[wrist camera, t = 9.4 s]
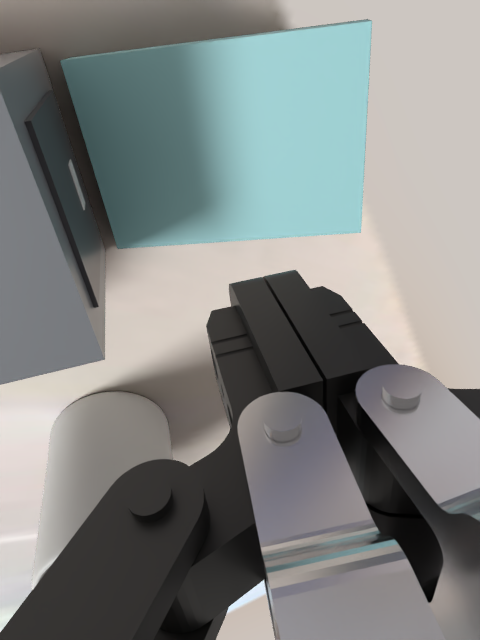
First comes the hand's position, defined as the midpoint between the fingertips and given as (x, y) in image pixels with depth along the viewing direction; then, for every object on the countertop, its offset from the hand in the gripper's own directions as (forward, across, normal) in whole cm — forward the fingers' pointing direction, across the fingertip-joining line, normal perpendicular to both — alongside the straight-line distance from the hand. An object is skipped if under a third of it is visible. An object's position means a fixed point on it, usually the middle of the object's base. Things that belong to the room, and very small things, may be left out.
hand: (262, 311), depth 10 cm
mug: (+17, +10, +21) cm, 28 cm away
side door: (+16, +4, 0) cm, 16 cm away
